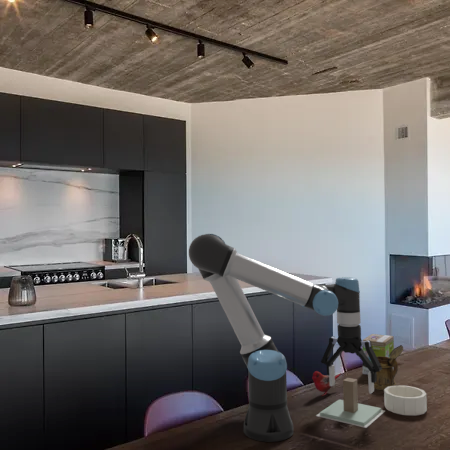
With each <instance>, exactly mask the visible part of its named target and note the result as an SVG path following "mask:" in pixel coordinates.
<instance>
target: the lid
mask: <svg viewBox="0 0 450 450" xmlns="http://www.w3.org/2000/svg"><path fill="white" fill-rule="evenodd" d="M358 387H359V386H358V379H357V378H351V377H346V378H345V379H342V394H343V395H342V397H343V399H337V400H336V401H334V402H333V403H331V404H330V405H329V406H328V407H326V408H325V409H323V410H321V411H320V412H319V413H320V416H324V417H329V418H333V419H337V420H341V421H345V422H349V423H354V424H358V425H362V426H365V425H366V424H367V423H368V422H369V421H371V420H372V419H373V418H374V417H375V416H376V415H378V414H379V413H380V412H381V410H382V407H377V406H373V405H369V404H363V403H359V401H358V400H359V398H358V397H359V396H358V394H359V393H358V392H359V390H358Z"/></svg>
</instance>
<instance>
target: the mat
mask: <svg viewBox="0 0 450 450" xmlns="http://www.w3.org/2000/svg"><path fill="white" fill-rule="evenodd" d="M385 412H386V410H383V409H381V412H380V413H379V414H378V415H376V416H375V417H374V418H373V419H372V420H371V421H369V422H368V423H367V424H366V425H365V426H362V425H358V424H354V423H349V422H345V421H341V420H337V419H333V418H329V417H324V416H320V412H319V413H318V414H316V415H315V416H316V417H317V418H318V417H319V418H323V419H327V420H332V421H335V422H340V423H344V424H348V425H352V426H357V427H361V428H365V429H367V428H368V427H369V426H370V425H372V423H374V422H375V421H376V420H377V419H378V418H380V416H382V415H383V414H384V413H385Z"/></svg>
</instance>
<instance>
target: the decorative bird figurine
mask: <svg viewBox="0 0 450 450" xmlns="http://www.w3.org/2000/svg"><path fill="white" fill-rule="evenodd" d="M341 375H342V373H341V372H340V373H338V374H337V375H335V381H336V380H337V379H338V378H339V377H340V376H341ZM311 379H312V380H313V384H314V386H315V389H316V390H318V391H319V392H320V393H321V392H322V393H323V394H321V397H323V396H325V395H328V394H329V393H328V391H329V390H330V389H331V388H332V387H333V386H330V381H329V375H324V374H322V373H321V372H320V371H318V370H316V371H314V372H313V373H312V377H311Z"/></svg>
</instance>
